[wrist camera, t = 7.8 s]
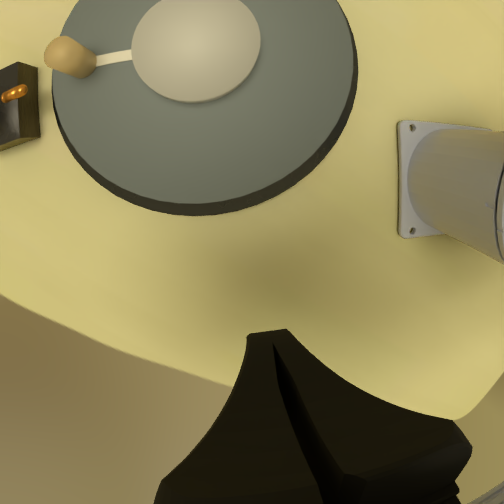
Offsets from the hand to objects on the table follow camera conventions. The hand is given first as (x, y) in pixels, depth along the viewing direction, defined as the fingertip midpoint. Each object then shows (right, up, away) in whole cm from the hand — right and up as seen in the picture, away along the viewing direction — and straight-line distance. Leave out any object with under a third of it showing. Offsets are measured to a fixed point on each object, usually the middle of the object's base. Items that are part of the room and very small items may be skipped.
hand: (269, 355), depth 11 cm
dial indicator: (-16, +13, +5) cm, 22 cm away
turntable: (-3, +14, +4) cm, 15 cm away
